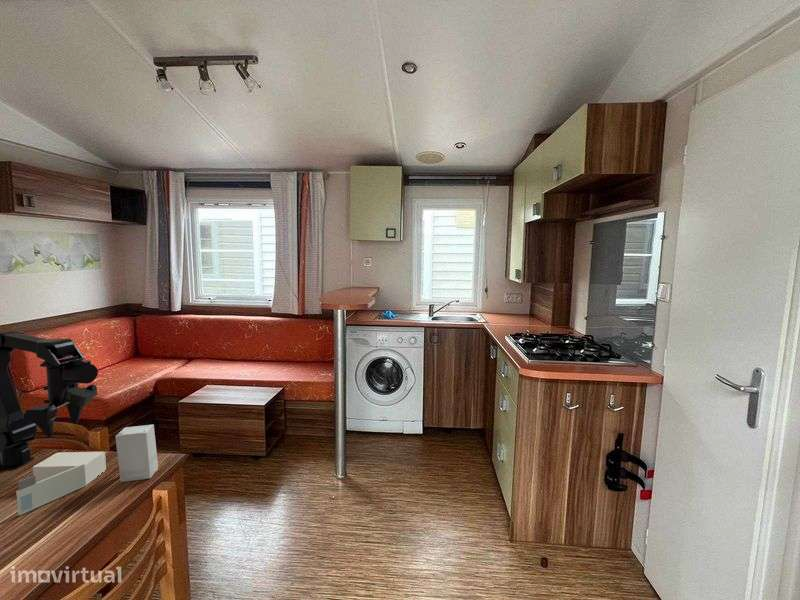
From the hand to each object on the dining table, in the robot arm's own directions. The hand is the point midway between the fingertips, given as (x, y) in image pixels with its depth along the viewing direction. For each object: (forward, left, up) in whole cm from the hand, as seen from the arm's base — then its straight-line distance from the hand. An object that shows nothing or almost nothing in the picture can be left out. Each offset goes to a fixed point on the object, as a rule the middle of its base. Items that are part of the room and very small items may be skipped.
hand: (63, 430), depth 111 cm
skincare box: (+25, -4, -13) cm, 28 cm away
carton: (+6, -5, -13) cm, 15 cm away
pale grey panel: (+10, -15, -13) cm, 22 cm away
